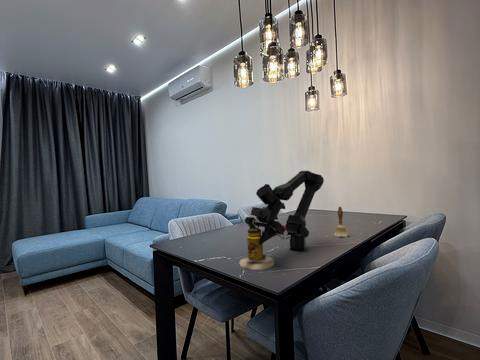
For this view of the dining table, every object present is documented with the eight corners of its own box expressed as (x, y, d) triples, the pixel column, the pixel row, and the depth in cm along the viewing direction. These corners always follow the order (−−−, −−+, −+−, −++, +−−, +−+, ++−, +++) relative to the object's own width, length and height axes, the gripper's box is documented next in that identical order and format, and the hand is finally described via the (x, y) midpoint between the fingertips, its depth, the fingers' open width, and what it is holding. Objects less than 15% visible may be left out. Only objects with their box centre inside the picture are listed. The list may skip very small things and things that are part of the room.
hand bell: (337, 238, 139) (336, 208, 139) (330, 235, 148) (329, 206, 147) (352, 237, 140) (351, 207, 140) (344, 233, 149) (343, 205, 148)
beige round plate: (279, 260, 110) (279, 257, 110) (266, 272, 98) (266, 269, 98) (248, 256, 117) (248, 254, 117) (233, 267, 105) (233, 264, 104)
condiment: (246, 261, 104) (244, 231, 104) (248, 254, 113) (247, 226, 112) (264, 262, 103) (263, 231, 102) (266, 254, 111) (264, 226, 111)
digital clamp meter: (255, 228, 153) (280, 221, 171) (255, 236, 153) (280, 228, 171) (290, 234, 137) (313, 225, 155) (290, 243, 137) (314, 233, 155)
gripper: (246, 198, 116) (227, 227, 109) (278, 200, 102) (259, 235, 95) (260, 213, 121) (243, 242, 115) (292, 218, 107) (275, 251, 101)
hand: (253, 242), depth 106 cm, fingers closed on condiment, 6 cm apart
